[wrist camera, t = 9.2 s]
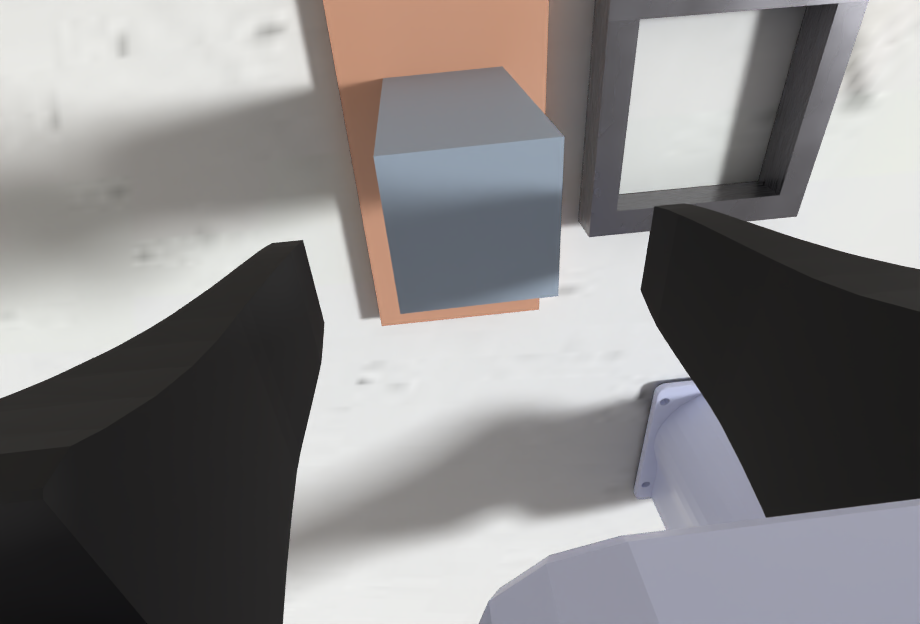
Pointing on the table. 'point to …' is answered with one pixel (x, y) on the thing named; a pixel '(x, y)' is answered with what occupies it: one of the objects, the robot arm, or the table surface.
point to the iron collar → (793, 136)
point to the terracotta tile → (414, 53)
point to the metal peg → (468, 189)
